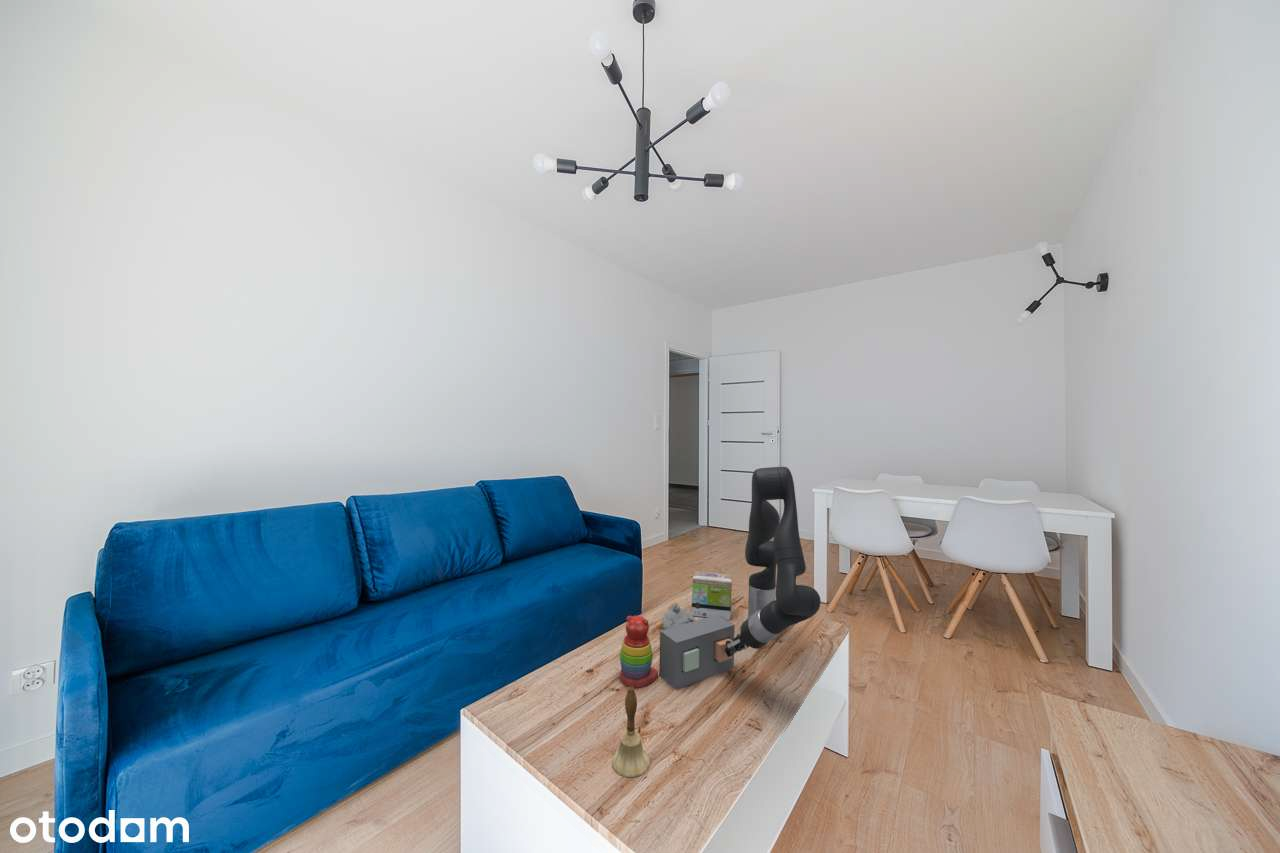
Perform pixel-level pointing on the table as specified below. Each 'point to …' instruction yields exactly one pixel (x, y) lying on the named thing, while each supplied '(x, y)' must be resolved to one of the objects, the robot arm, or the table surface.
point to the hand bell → (630, 744)
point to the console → (690, 637)
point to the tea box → (711, 595)
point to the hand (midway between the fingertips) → (728, 652)
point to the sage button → (690, 659)
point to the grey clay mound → (676, 617)
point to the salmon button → (721, 650)
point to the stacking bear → (636, 654)
